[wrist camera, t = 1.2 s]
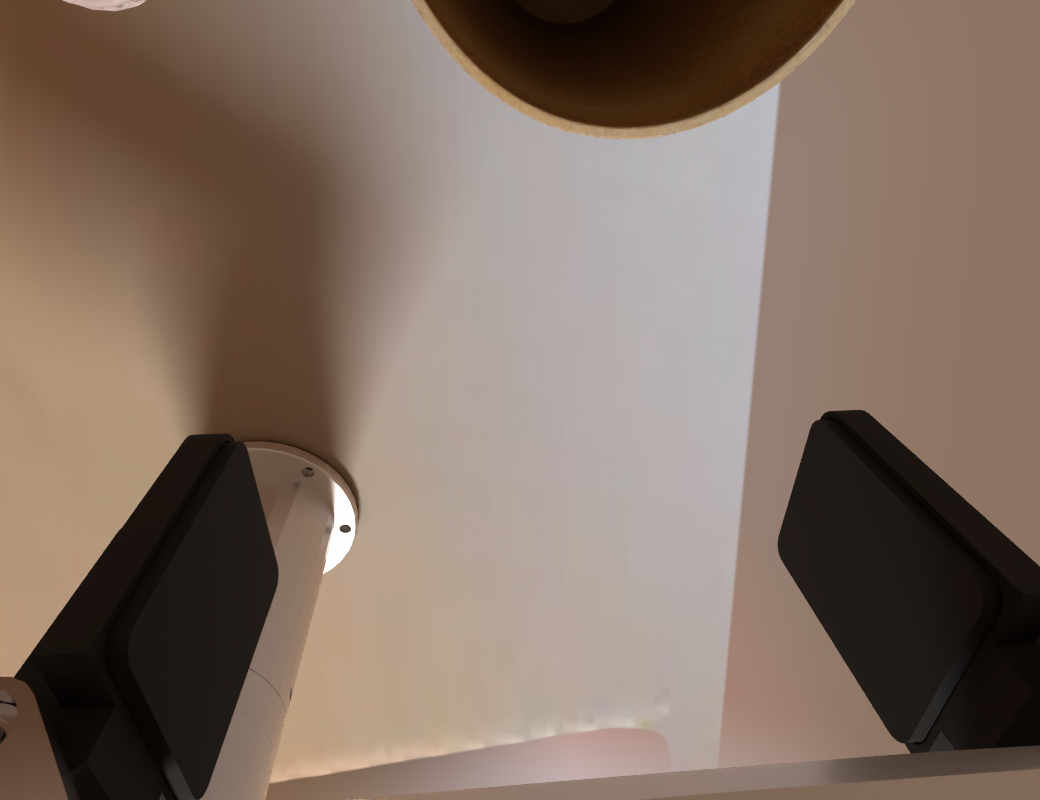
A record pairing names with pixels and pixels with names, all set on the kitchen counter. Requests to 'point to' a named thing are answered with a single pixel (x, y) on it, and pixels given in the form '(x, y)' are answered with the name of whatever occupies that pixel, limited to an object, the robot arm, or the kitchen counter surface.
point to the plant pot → (630, 56)
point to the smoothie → (107, 4)
